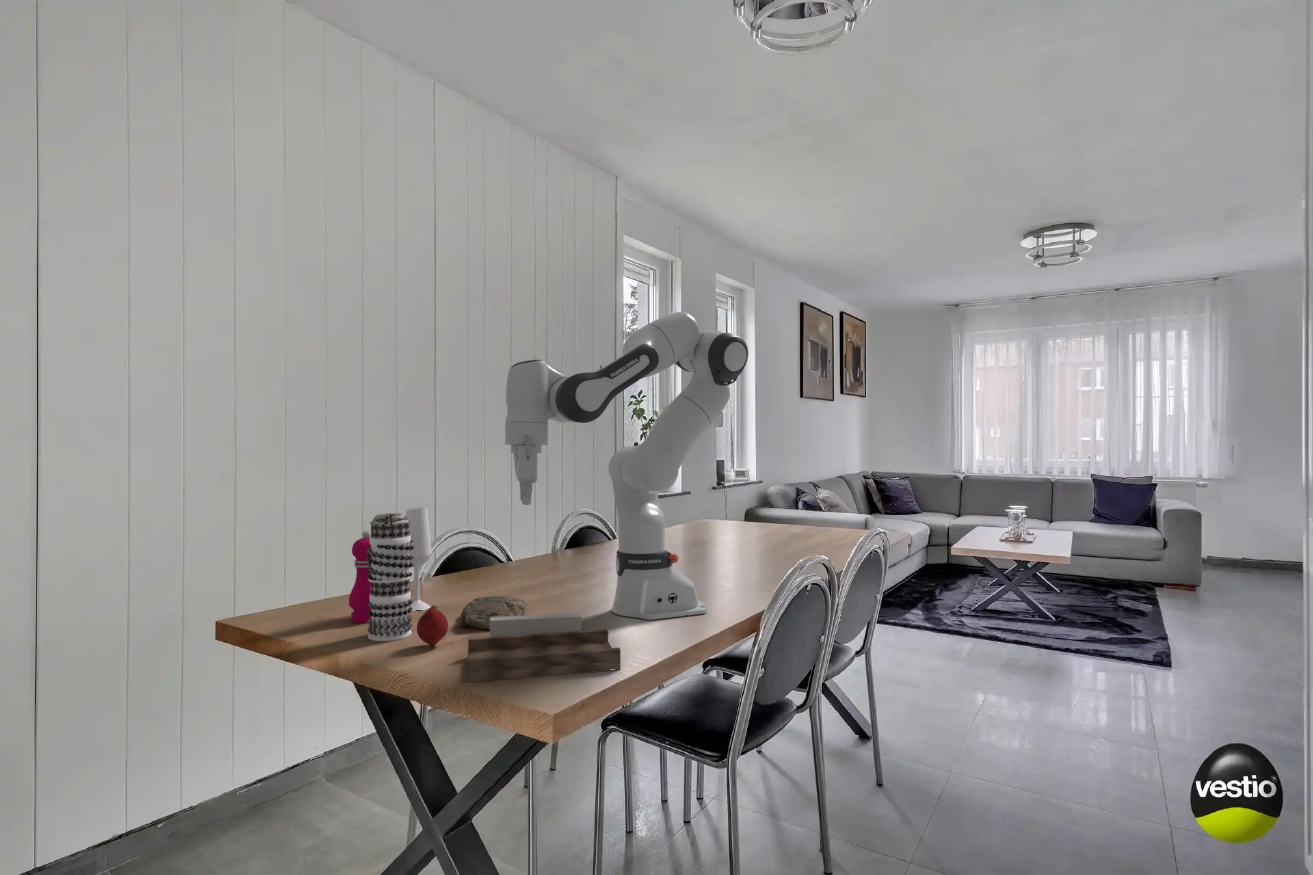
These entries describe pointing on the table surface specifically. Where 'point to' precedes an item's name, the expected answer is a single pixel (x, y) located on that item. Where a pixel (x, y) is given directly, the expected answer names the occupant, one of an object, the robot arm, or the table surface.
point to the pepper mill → (361, 581)
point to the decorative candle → (389, 577)
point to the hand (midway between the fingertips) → (525, 502)
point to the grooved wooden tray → (540, 655)
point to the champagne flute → (419, 548)
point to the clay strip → (535, 624)
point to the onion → (432, 626)
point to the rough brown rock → (490, 610)
